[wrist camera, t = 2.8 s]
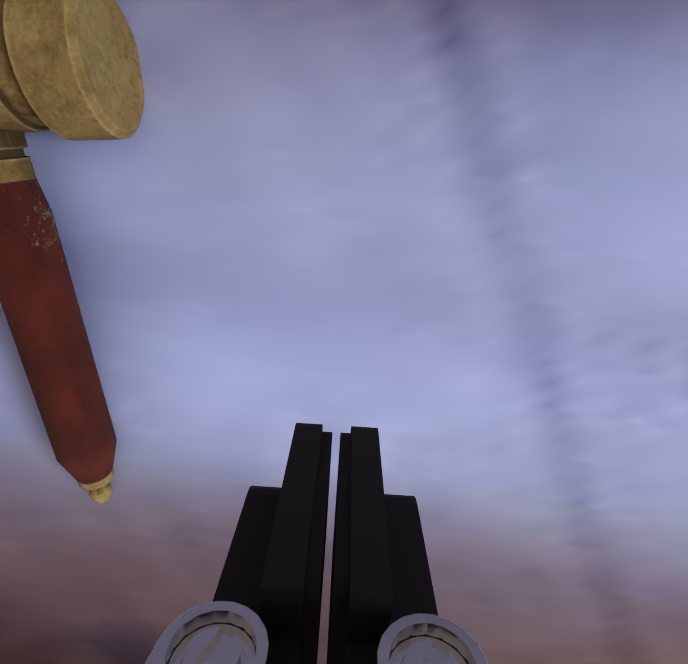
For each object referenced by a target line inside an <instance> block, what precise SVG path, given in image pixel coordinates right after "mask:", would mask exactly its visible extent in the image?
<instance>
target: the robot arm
mask: <svg viewBox="0 0 688 664" xmlns="http://www.w3.org/2000/svg"><path fill="white" fill-rule="evenodd" d="M322 427H323V426H322V424H306V423H296V425H295V430H294V434H293V439H292V443H291V448H290V452H289V457H288V462H287V466H286V471H285V475H284V480H283V484H282V488H278V487H262V486H251V487H250V488H249V491H248V493H247V496H246V499H245V502H244V506H243V509H242V512H241V515H240V518H239V521H238V524H237V527H236V530H235V534H234V537H233V540H232V543H231V546H230V549H229V552H228V555H227V559H226V562H225V565H224V568H223V571H222V574H221V577H220V580H219V583H218V587H217V590H216V593H215V596H214V599H213V602H210V603H205V604H201V605H199V606H197V607H194V608H192V609H190V610H188V611H186V612H184V613H183V614H182V615H181V616H179V617H178V618H177V619H176V620H175V621H173V622H172V623H171V624H170V625H169V627H168V628H167V629H166V630H165V632H164V633H163V634H162V636H161V637H160V638H159V640H158V642H157V644H156V645H155V647H154V649H153V651H152V652H151V654H150V656H149V658H148V659H147V661H146V663H145V664H317V653H318V640H319V626H320V612H321V599H322V585H323V571H324V558H325V543H326V527H327V511H328V495H329V479H330V462H331V446H332V432H322ZM327 664H488V662H487V659H486V658H485V656H484V654H483V652H482V651H481V649H480V647H479V645H478V644H477V642H476V641H475V640H474V639H473V638H472V637H471V636H470V635H469V634H468V633H467V632H466V631H465V630H464V629H463V628H461V627H460V626H458V625H457V624H455V623H453V622H452V621H450V620H448V619H445V618H442V617H440V616H438V613H437V608H436V602H435V597H434V592H433V586H432V581H431V576H430V570H429V565H428V559H427V554H426V549H425V543H424V538H423V533H422V527H421V522H420V517H419V511H418V506H417V502H416V498H415V497H414V496H404V495H389V494H384V488H383V477H382V467H381V456H380V445H379V434H378V428H369V427H353V426H351V433H341V436H340V450H339V465H338V480H337V494H336V509H335V524H334V538H333V555H332V574H331V592H330V611H329V630H328V649H327Z"/></svg>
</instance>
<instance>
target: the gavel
mask: <svg viewBox="0 0 688 664" xmlns="http://www.w3.org/2000/svg"><path fill="white" fill-rule="evenodd" d="M143 107H144V89H143V83H142V76H141V70H140V64H139V57H138V51H137V47H136V44H135V41H134V38H133V35H132V32H131V30H130V27H129V25H128V23H127V21H126V18H125V16H124V15H123V13H122V11H121V9H120V7H119V6H118V4H117V3H116V2H115V0H0V301H1V304H2V307H3V310H4V313H5V316H6V318H7V321H8V324H9V327H10V330H11V332H12V335H13V338H14V341H15V344H16V346H17V349H18V352H19V355H20V358H21V361H22V363H23V366H24V369H25V372H26V375H27V377H28V380H29V383H30V386H31V389H32V391H33V394H34V397H35V400H36V403H37V406H38V408H39V411H40V414H41V417H42V420H43V422H44V425H45V428H46V431H47V434H48V436H49V439H50V442H51V445H52V448H53V451H54V453H55V456H56V459H57V461H58V462H59V463H60V464H61V465H62V466H63V467H64V468H65V469H66V470H67V471H68V472H69V473H70V474H71V475H72V476H73V477H74V478H75V479H76V480H77V481H78V484H79V486H80V487H81V488H83V489H86V490H89V495H90V498H91V499H92V500H93V501H94V502H96V503H103V502H105V501H107V500H108V499H109V498H110V497H111V495H112V486H111V484H110V483H109V482H110V481H111V479H112V477H113V475H114V470H113V462H114V455H115V448H116V436H115V432H114V429H113V425H112V422H111V418H110V415H109V411H108V408H107V404H106V400H105V397H104V393H103V390H102V386H101V383H100V379H99V376H98V372H97V369H96V365H95V362H94V358H93V354H92V351H91V347H90V344H89V340H88V337H87V333H86V330H85V326H84V323H83V319H82V316H81V312H80V308H79V305H78V301H77V298H76V294H75V291H74V287H73V284H72V280H71V277H70V273H69V270H68V266H67V262H66V259H65V255H64V252H63V248H62V245H61V241H60V238H59V234H58V231H57V227H56V224H55V220H54V216H53V213H52V210H51V208H50V206H49V204H48V202H47V200H46V197H45V195H44V193H43V191H42V189H41V187H40V185H39V183H38V181H37V179H36V176H35V173H34V169H33V166H32V162H31V159H30V156H25V154H24V151H23V148H27V147H28V145H27V142H26V138H25V135H24V132H43V131H47V130H52V131H53V132H54V133H56V134H57V135H58V136H60V137H63V138H65V139H67V140H106V139H126V138H129V137H131V136H132V135H133V134H134V133H135V132H136V130H137V128H138V126H139V123H140V120H141V117H142V113H143Z"/></svg>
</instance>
